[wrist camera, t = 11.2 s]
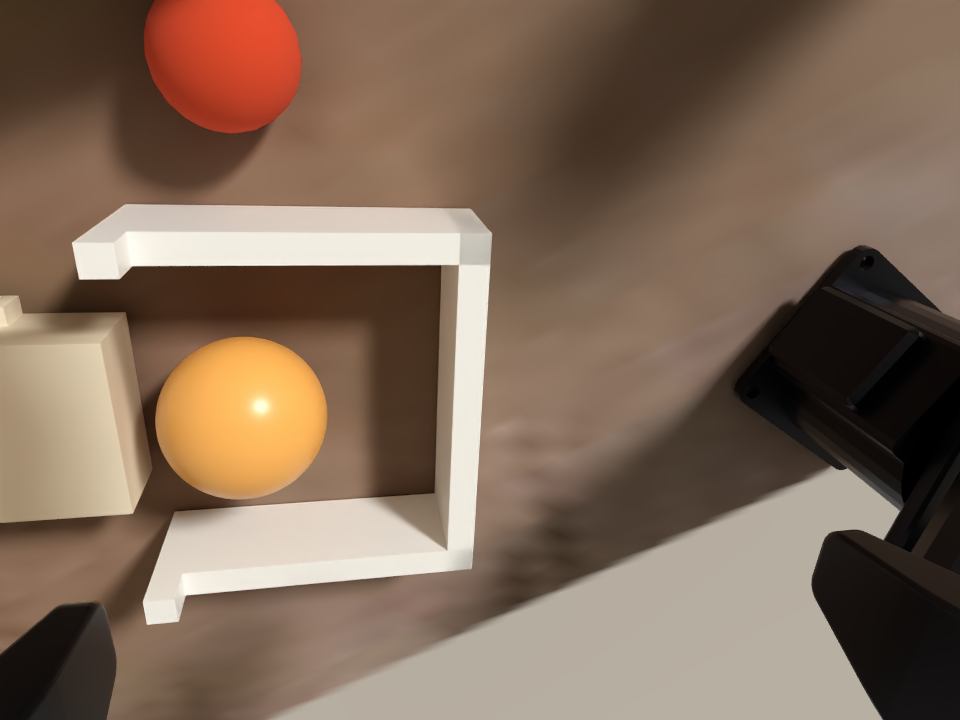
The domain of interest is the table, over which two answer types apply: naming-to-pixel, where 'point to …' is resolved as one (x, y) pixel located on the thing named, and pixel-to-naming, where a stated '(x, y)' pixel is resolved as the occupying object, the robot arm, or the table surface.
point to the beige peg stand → (68, 416)
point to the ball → (241, 418)
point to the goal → (337, 523)
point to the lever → (223, 60)
